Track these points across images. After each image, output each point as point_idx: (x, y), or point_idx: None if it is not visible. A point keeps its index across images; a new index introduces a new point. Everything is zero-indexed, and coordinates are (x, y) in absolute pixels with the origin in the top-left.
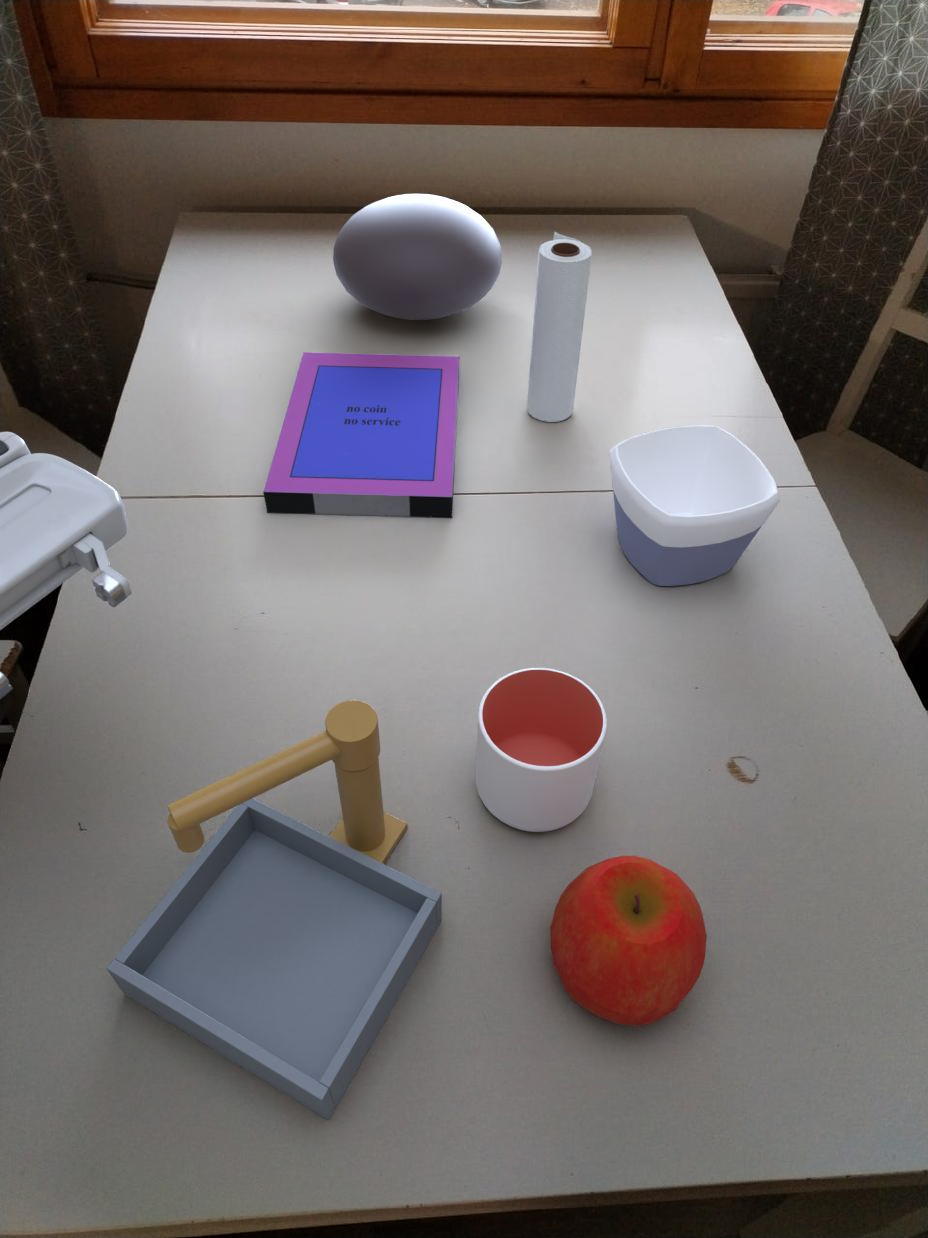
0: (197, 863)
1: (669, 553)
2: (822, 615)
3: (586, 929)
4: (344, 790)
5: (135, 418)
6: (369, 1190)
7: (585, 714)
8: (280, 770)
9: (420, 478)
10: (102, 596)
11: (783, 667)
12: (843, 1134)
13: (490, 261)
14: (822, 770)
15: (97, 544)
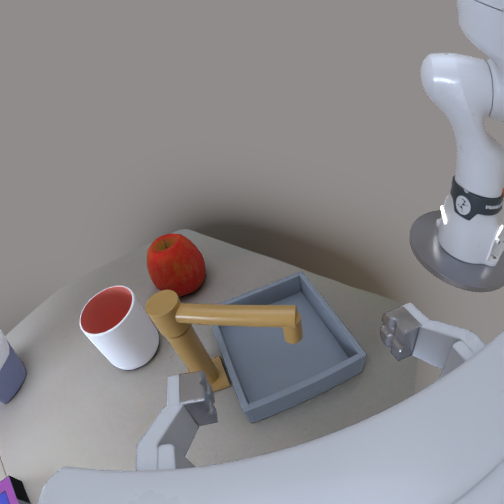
0: (296, 387)
1: (12, 354)
2: (28, 325)
3: (184, 248)
4: (197, 337)
5: None
6: (302, 271)
7: (95, 319)
8: (218, 304)
9: (6, 498)
10: (212, 403)
11: (50, 321)
12: (188, 235)
13: None
14: (85, 292)
15: (145, 445)
